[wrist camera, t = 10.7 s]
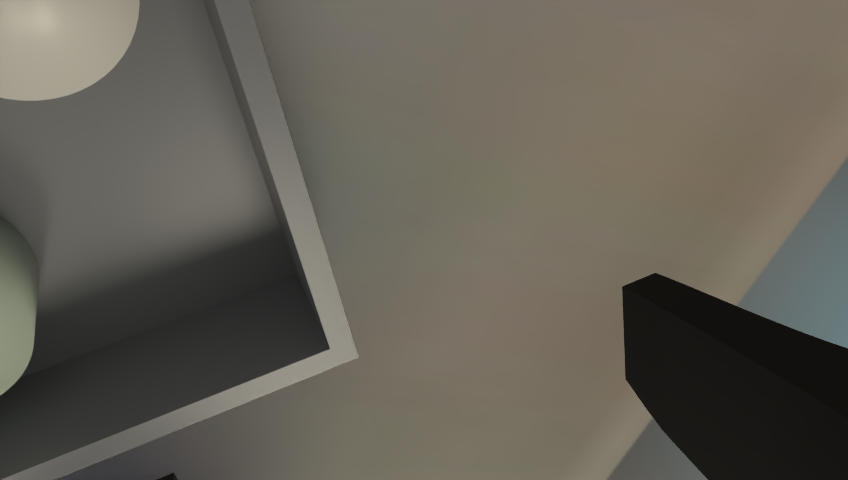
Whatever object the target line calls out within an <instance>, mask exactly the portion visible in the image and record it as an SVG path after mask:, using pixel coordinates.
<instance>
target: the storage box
mask: <svg viewBox="0 0 848 480" xmlns="http://www.w3.org/2000/svg"><path fill="white" fill-rule="evenodd" d="M356 358H359V357H358V354H357V351H356V347H355V344H354V341H353V338H352V334H351V331H350V328H349V325H348V321H347V318H346V315H345V311H344V308H343V305H342V302H341V298H340V295H339V292H338V289H337V285H336V282H335V279H334V276H333V272H332V269H331V266H330V263H329V259H328V256H327V253H326V250H325V246H324V243H323V240H322V236H321V233H320V230H319V227H318V223H317V220H316V217H315V214H314V210H313V207H312V204H311V201H310V197H309V194H308V191H307V188H306V184H305V181H304V178H303V174H302V171H301V168H300V165H299V161H298V158H297V155H296V152H295V148H294V145H293V142H292V139H291V135H290V132H289V129H288V126H287V122H286V119H285V116H284V112H283V109H282V106H281V103H280V99H279V96H278V93H277V90H276V86H275V83H274V80H273V77H272V73H271V70H270V67H269V64H268V60H267V57H266V54H265V50H264V47H263V44H262V41H261V37H260V34H259V31H258V28H257V24H256V21H255V18H254V15H253V11H252V8H251V5H250V2H249V0H0V480H56V479H59V478H61V477H64V476H66V475H69V474H71V473H73V472H76V471H78V470H81V469H83V468H86V467H88V466H91V465H93V464H96V463H98V462H101V461H103V460H106V459H108V458H111V457H113V456H116V455H118V454H121V453H123V452H126V451H128V450H131V449H133V448H136V447H138V446H140V445H143V444H145V443H148V442H150V441H153V440H155V439H158V438H160V437H163V436H165V435H168V434H170V433H173V432H175V431H178V430H180V429H183V428H185V427H188V426H190V425H193V424H195V423H198V422H200V421H203V420H205V419H207V418H210V417H212V416H215V415H217V414H220V413H222V412H225V411H227V410H230V409H232V408H235V407H237V406H240V405H242V404H245V403H247V402H250V401H252V400H255V399H257V398H260V397H262V396H265V395H267V394H270V393H272V392H274V391H277V390H279V389H282V388H284V387H287V386H289V385H292V384H294V383H297V382H299V381H302V380H304V379H307V378H309V377H312V376H314V375H317V374H319V373H322V372H324V371H327V370H329V369H332V368H334V367H337V366H339V365H341V364H344V363H346V362H349V361H351V360H354V359H356Z"/></svg>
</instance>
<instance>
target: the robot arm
mask: <svg viewBox="0 0 848 480" xmlns="http://www.w3.org/2000/svg"><path fill="white" fill-rule="evenodd" d="M622 291H623V319H624V347H625V375H626V380H627V381H628V383H629V384H630V386H631V387H632V389H633V390H634V391H635V393H636V394H637V396H638V397H639V399H640V400H641V402H642V403H643V404H644V406H645V407H646V409H647V410H648V411H649V413H650V414H651V415H652V417H653V418H654V419H655V420H656V422H657V423H658V425H659V426H660V427H661V429H662V430H663V431H664V432H665V433H666V434H667V435H668V437H669V438H670V439H671V440H672V441H673V442H674V443H675V444H676V445H677V447H678V448H680V450H681V451H682V452H683V453H684V454H685V455H686V456H687V457H688V459H689V460H690V461H691V462H692V463H693V464H694V465H695V466H696V467H697V468H698V469H699V470H700V471H701V473H702V474H703V475H705V477H706V478H707V479H708V480H848V349H847V348H845V347H841V346H839V345H836V344H833V343H830V342H827V341H824V340H822V339H819V338H816V337H813V336H810V335H808V334H805V333H803V332H800V331H797V330H795V329H792V328H789V327H787V326H784V325H782V324H779V323H776V322H774V321H772V320H769V319H767V318H764V317H761V316H759V315H757V314H754V313H752V312H749V311H747V310H744V309H742V308H740V307H737V306H735V305H732V304H730V303H728V302H725V301H723V300H720V299H718V298H716V297H713V296H711V295H708V294H706V293H704V292H701V291H699V290H697V289H694V288H692V287H689V286H687V285H684V284H682V283H680V282H677V281H675V280H672V279H670V278H667V277H665V276H662V275H659V274H657V273H654V274H652V275H649V276H647V277H644V278H642V279H639V280H637V281H635V282H632V283H630V284H627V285H625V286H623V287H622ZM157 480H177V478H176V476H175V474H174V473H171V474H169V475H167V476H164V477H162V478H159V479H157Z"/></svg>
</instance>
